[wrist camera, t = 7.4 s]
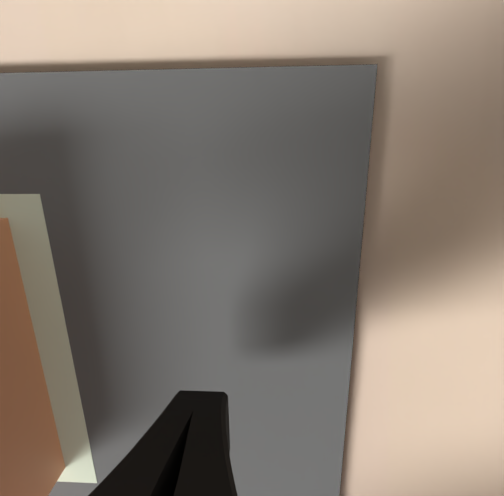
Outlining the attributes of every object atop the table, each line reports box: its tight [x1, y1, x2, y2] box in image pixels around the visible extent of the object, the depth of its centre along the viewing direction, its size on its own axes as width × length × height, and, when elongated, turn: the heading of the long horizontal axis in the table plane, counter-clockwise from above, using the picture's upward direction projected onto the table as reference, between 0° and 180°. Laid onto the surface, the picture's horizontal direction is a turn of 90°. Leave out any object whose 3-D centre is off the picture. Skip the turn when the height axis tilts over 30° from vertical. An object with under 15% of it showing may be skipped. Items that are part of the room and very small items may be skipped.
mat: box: [0, 64, 377, 496], centre depth 13 cm, size 18×24×1 cm
